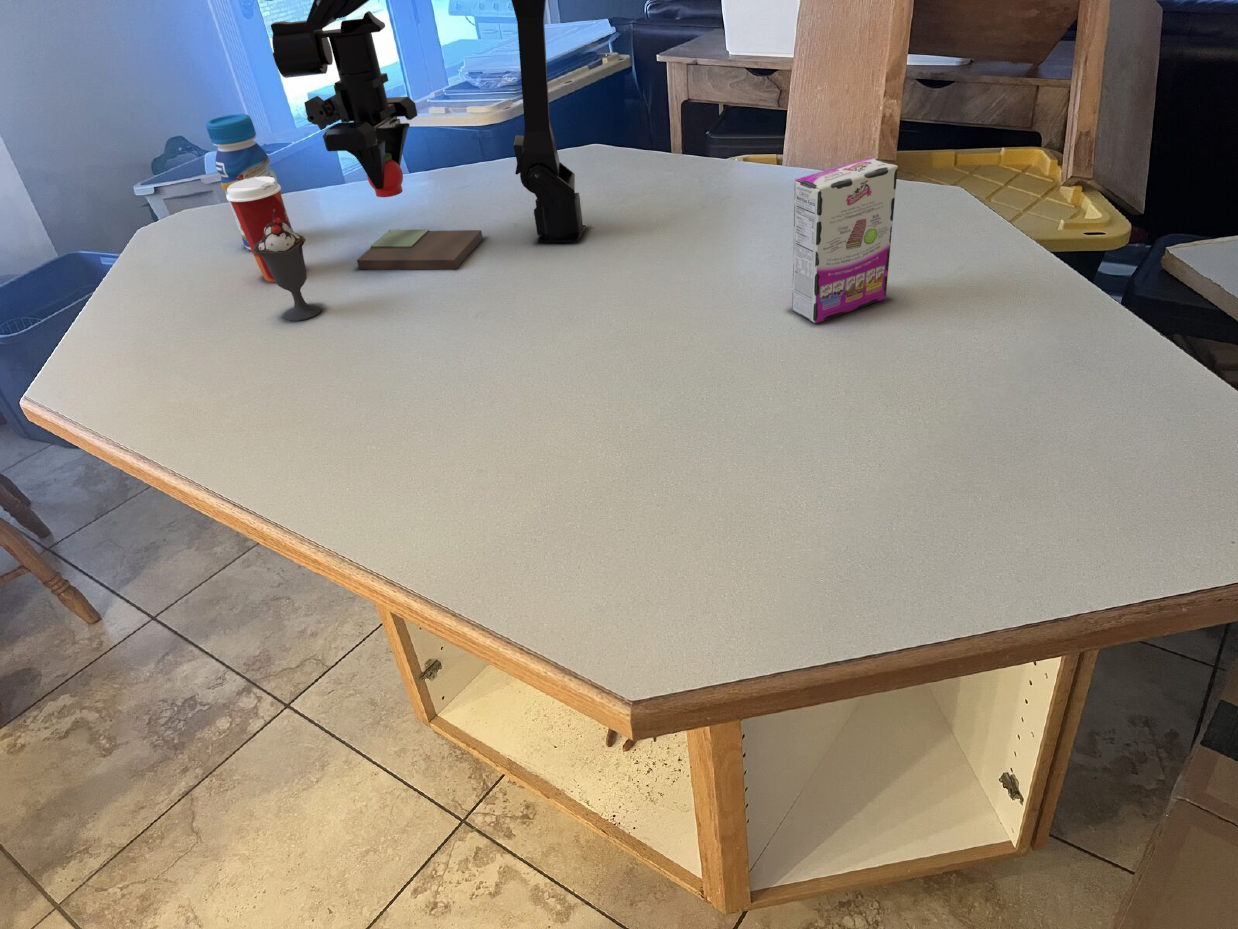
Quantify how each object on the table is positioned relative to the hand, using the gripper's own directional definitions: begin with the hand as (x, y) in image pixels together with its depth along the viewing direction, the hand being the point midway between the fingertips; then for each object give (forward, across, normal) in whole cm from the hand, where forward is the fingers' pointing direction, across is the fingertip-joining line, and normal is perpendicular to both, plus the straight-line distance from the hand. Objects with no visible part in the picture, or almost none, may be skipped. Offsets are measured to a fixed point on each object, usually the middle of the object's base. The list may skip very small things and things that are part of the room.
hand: (387, 182), depth 124 cm
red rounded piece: (+2, 0, 0) cm, 2 cm away
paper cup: (+11, +9, -17) cm, 22 cm away
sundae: (+11, +22, -6) cm, 25 cm away
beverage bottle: (+11, -4, -27) cm, 29 cm away
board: (+11, +1, +3) cm, 11 cm away
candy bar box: (+11, +18, +66) cm, 70 cm away
